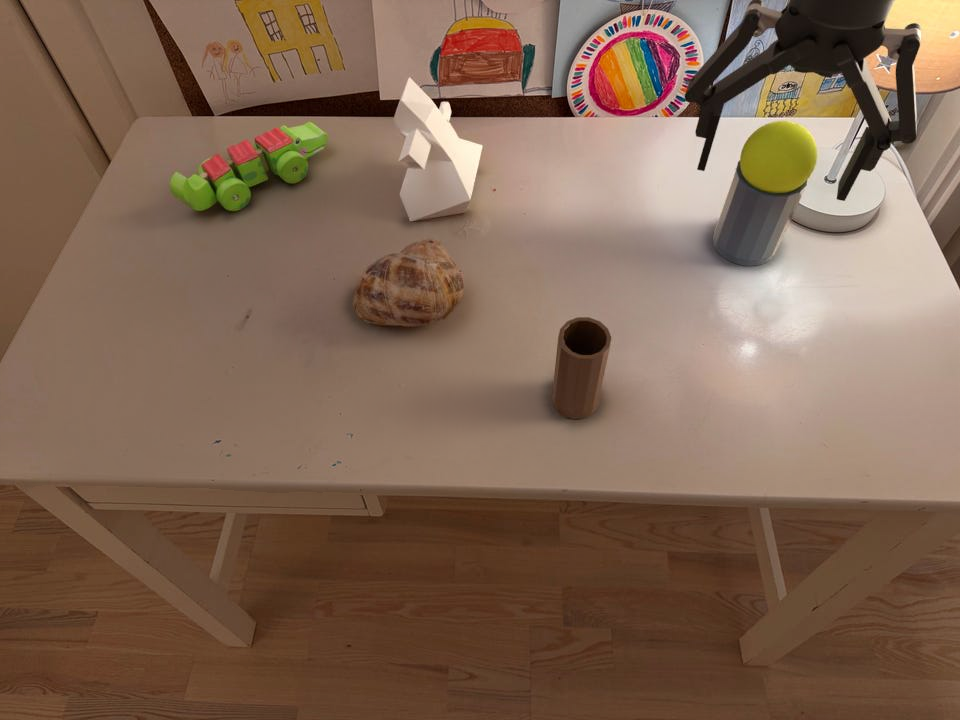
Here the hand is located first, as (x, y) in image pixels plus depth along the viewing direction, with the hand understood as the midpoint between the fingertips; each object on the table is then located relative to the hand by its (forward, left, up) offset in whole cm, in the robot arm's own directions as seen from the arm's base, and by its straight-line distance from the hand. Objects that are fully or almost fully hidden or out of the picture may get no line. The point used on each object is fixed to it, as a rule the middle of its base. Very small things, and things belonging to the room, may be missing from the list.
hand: (770, 176), depth 71 cm
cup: (0, 0, -10) cm, 10 cm away
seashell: (+8, +37, -10) cm, 39 cm away
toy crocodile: (+34, +47, -10) cm, 59 cm away
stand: (-10, +27, -10) cm, 30 cm away
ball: (0, 0, +2) cm, 2 cm away
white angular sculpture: (+23, +27, -10) cm, 37 cm away
